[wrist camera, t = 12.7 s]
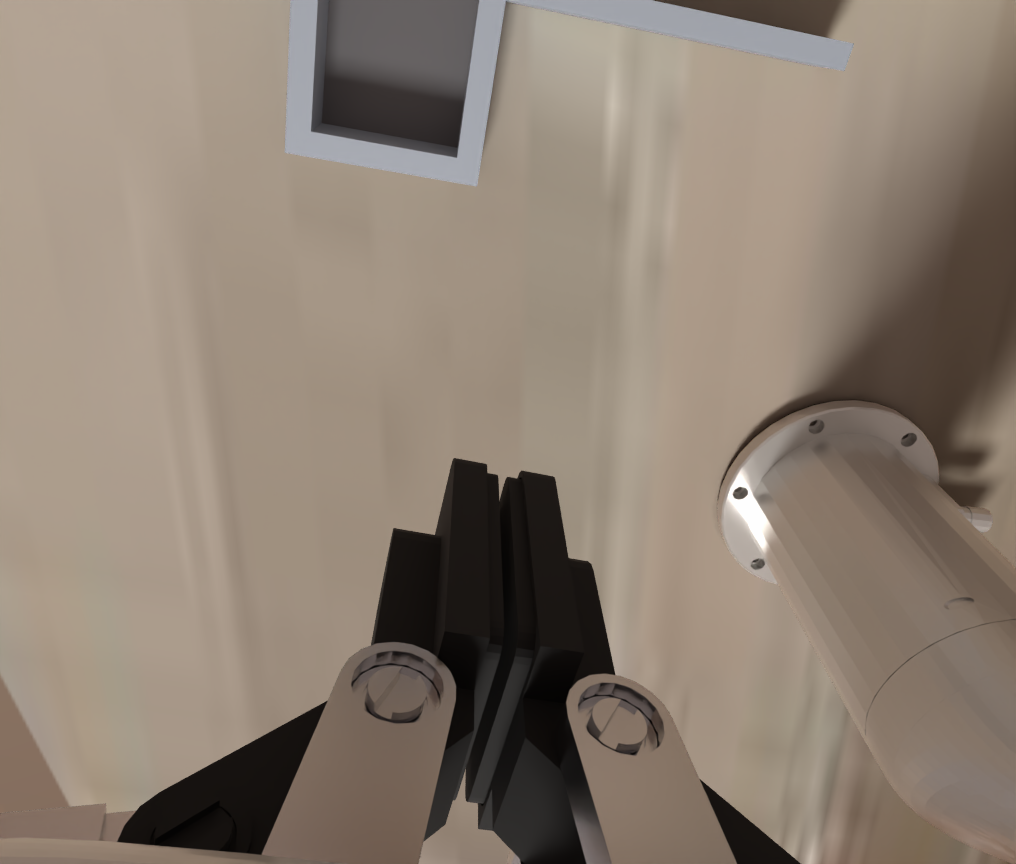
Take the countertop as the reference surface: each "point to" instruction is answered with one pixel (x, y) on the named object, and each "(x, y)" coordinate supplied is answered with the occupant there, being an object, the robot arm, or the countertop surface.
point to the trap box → (455, 72)
